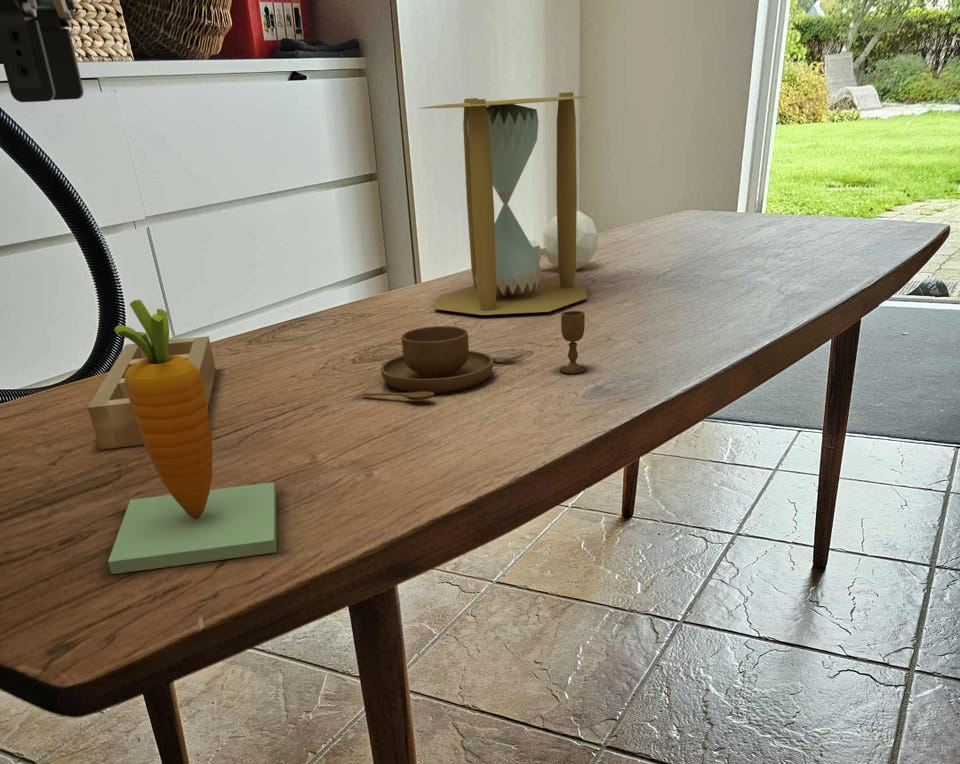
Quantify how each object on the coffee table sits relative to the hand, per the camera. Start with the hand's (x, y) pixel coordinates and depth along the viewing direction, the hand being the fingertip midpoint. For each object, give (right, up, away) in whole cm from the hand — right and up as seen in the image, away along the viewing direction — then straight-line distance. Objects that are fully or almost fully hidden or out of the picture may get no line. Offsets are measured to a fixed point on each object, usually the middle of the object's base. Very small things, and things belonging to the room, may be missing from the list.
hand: (52, 100), depth 54 cm
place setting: (+25, -5, +41) cm, 48 cm away
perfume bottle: (+39, +28, +94) cm, 106 cm away
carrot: (+5, -24, +12) cm, 27 cm away
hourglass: (+30, +16, +75) cm, 83 cm away
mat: (+5, -24, +12) cm, 28 cm away
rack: (-7, -8, +40) cm, 41 cm away
